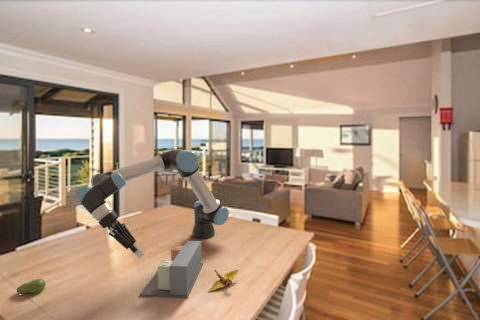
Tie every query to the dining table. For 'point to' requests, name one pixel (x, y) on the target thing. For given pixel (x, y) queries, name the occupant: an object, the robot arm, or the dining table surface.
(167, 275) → the button two
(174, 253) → the button one
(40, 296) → the dining table surface
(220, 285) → the origami crane
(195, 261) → the console
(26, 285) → the pear
